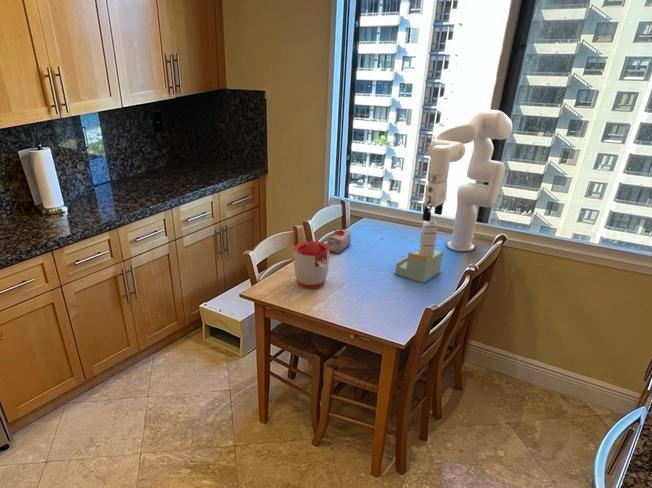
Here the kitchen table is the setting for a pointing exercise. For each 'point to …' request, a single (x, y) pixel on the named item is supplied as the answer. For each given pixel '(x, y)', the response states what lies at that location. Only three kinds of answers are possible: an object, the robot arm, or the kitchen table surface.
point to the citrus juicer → (311, 263)
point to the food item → (339, 241)
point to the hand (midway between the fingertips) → (432, 217)
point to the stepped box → (419, 266)
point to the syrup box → (428, 238)
